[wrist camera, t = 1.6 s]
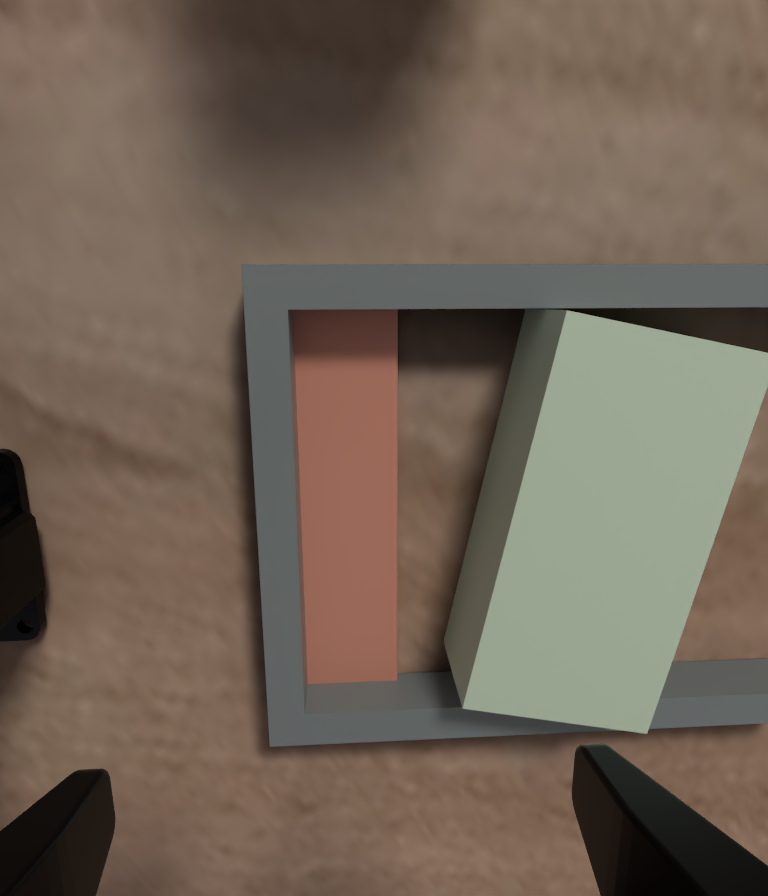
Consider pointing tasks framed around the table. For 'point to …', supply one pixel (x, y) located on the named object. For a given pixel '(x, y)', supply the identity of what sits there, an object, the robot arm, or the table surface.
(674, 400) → the block
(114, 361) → the table surface
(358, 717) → the channel
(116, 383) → the table surface
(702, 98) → the table surface
